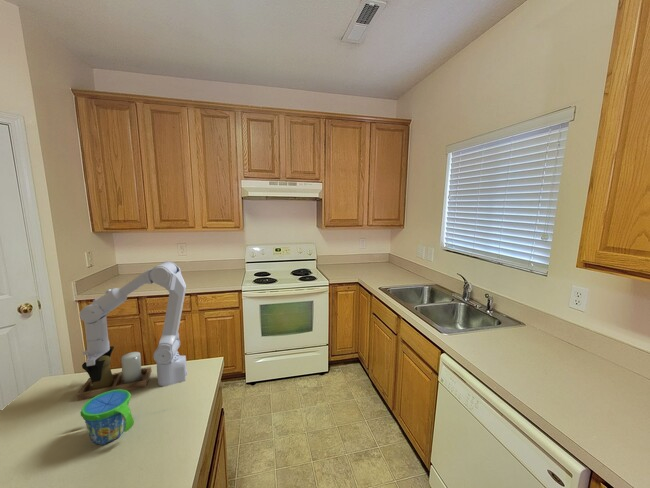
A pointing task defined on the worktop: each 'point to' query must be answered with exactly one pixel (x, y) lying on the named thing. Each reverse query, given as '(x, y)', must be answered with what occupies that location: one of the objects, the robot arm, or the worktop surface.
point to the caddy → (114, 385)
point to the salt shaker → (131, 367)
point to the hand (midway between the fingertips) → (100, 374)
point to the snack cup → (108, 416)
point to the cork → (104, 374)
